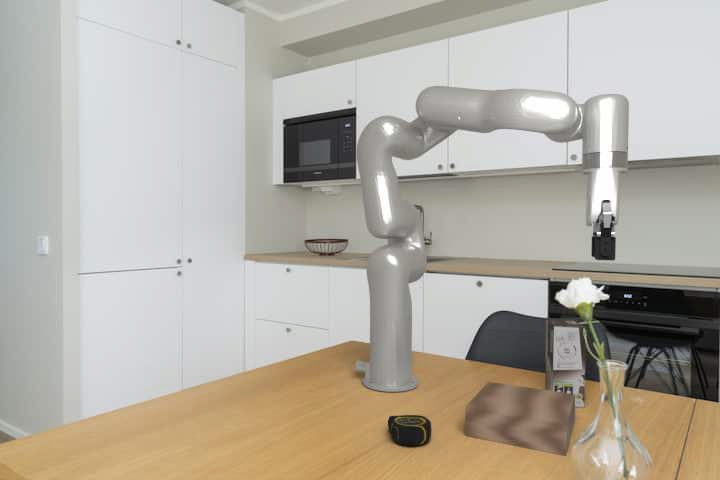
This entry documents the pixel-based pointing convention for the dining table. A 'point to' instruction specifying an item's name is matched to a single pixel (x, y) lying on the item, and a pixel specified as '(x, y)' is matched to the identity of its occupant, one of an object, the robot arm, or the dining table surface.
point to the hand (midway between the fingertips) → (602, 258)
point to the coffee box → (565, 358)
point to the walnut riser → (522, 417)
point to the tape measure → (410, 429)
